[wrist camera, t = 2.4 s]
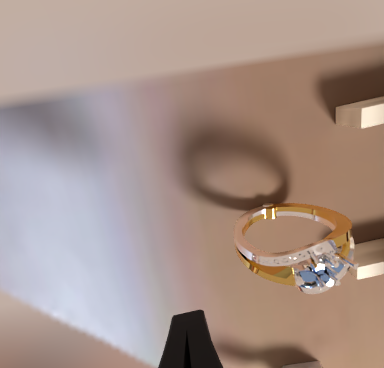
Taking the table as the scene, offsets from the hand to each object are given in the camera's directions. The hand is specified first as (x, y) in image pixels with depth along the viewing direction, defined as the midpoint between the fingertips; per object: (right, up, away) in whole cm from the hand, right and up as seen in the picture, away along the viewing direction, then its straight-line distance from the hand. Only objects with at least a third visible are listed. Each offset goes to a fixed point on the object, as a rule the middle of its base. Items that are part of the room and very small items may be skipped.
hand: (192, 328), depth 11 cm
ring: (+6, +5, +9) cm, 11 cm away
